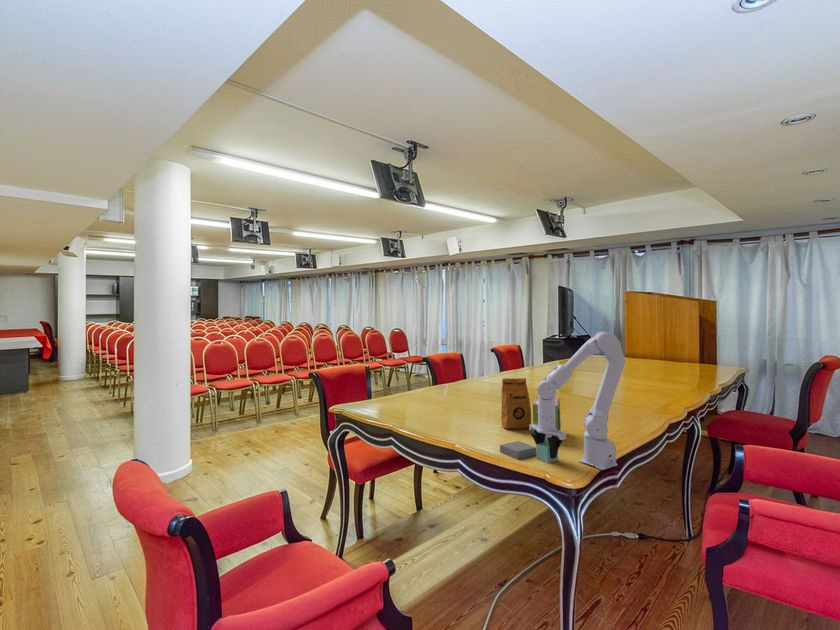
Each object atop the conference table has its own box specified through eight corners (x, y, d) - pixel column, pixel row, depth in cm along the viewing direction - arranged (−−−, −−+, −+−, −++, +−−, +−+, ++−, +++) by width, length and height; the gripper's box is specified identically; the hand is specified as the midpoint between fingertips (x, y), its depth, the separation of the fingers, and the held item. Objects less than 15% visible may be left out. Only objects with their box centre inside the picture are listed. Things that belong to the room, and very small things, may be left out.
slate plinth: (536, 454, 146) (536, 447, 146) (517, 459, 142) (517, 451, 142) (518, 447, 154) (518, 440, 154) (500, 451, 149) (499, 444, 149)
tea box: (536, 430, 177) (536, 395, 177) (561, 432, 173) (560, 397, 173) (532, 440, 163) (532, 403, 163) (559, 442, 159) (558, 404, 159)
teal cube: (557, 460, 140) (557, 445, 140) (547, 463, 138) (547, 448, 138) (546, 456, 145) (546, 441, 145) (536, 458, 142) (536, 444, 142)
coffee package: (533, 430, 176) (532, 379, 176) (504, 430, 176) (503, 379, 176) (527, 424, 186) (527, 376, 186) (500, 424, 186) (499, 376, 186)
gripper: (522, 413, 145) (523, 451, 145) (555, 422, 133) (555, 464, 133) (537, 410, 149) (537, 447, 149) (569, 419, 136) (570, 460, 136)
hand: (547, 455), depth 141 cm, fingers closed on teal cube, 5 cm apart
